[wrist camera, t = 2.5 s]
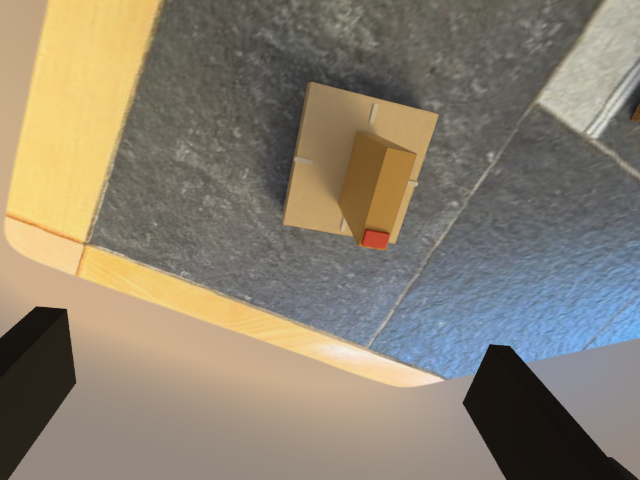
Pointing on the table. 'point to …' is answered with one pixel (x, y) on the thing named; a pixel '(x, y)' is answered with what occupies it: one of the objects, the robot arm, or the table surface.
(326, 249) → the table surface
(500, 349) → the robot arm
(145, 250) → the table surface
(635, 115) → the button block
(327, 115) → the panel
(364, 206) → the lock knob
